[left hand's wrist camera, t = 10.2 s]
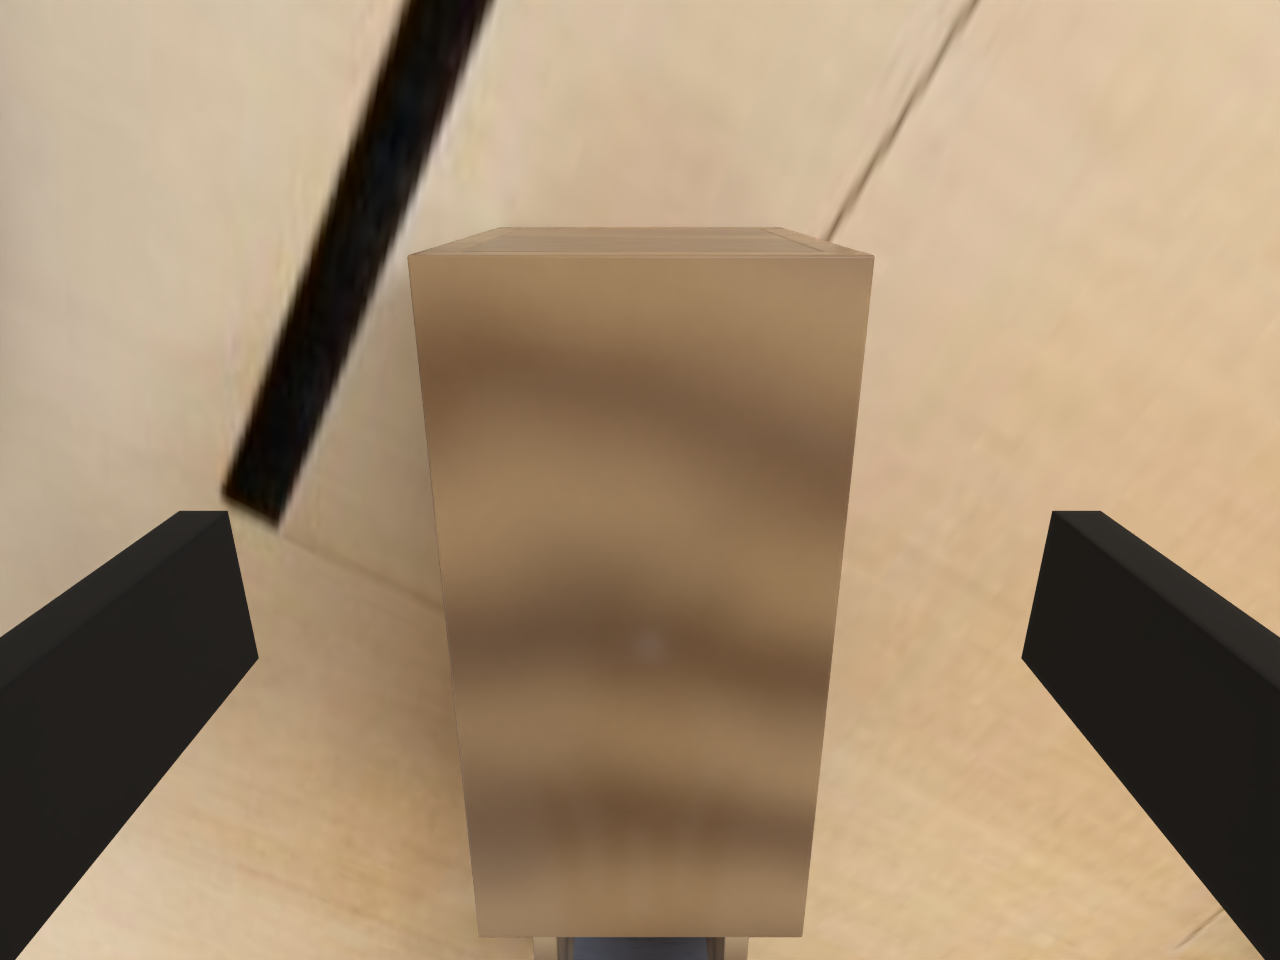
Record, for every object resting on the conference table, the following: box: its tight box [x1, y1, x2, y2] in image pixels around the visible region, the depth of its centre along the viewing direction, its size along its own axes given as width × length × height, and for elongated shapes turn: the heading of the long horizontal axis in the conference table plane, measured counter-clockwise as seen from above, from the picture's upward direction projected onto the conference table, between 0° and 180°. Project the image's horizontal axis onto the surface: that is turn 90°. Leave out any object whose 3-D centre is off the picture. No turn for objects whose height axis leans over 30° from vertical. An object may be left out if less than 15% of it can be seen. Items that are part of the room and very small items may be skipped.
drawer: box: [533, 937, 749, 960], centre depth 30 cm, size 25×9×9 cm, turn 0°
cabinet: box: [408, 228, 874, 937], centre depth 25 cm, size 20×10×11 cm, turn 0°
